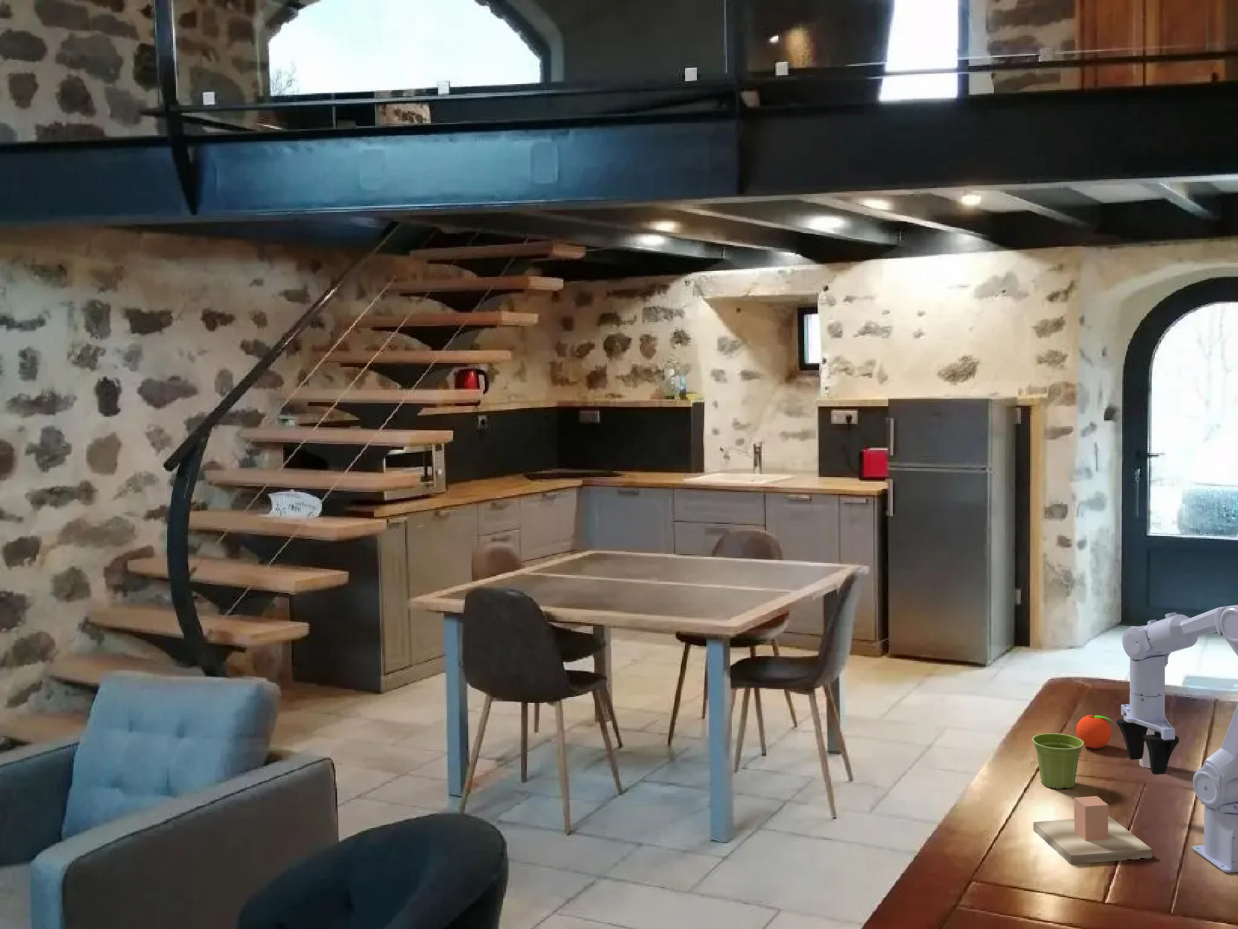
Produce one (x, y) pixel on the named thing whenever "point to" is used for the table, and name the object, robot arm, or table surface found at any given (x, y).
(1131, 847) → the board
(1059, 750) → the plant pot
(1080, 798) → the block
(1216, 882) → the table surface
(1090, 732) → the clementine
